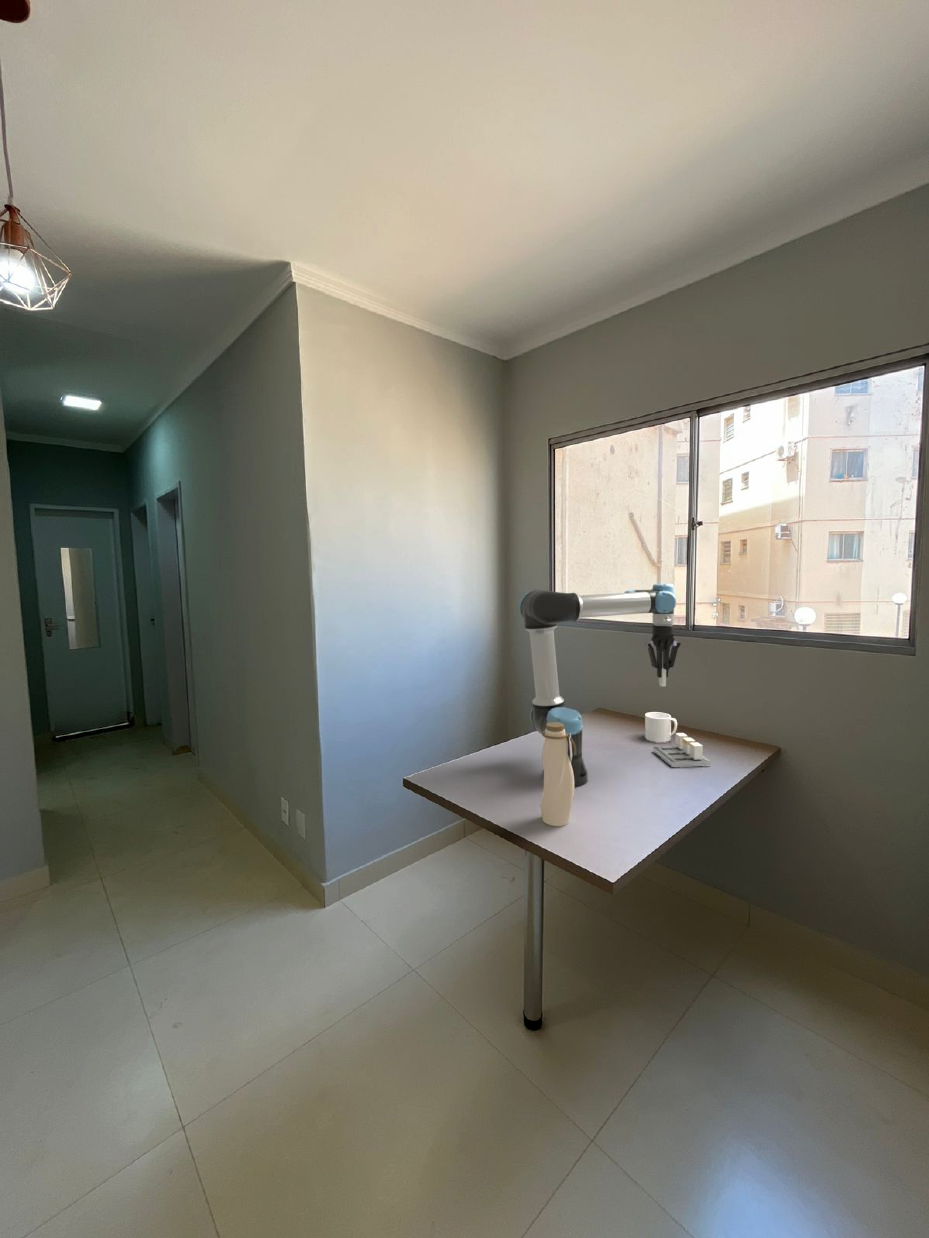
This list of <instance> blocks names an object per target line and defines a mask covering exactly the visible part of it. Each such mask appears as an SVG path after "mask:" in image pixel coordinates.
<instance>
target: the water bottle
mask: <svg viewBox="0 0 929 1238" xmlns="http://www.w3.org/2000/svg"><path fill="white" fill-rule="evenodd" d="M544 733H545V735H544ZM541 736H542V737H544V742H543V746H542V753H541V759H542V767H543V769H544V779H543V792H542V798H541V801H540V806H539V807H540V814H541V819H542V822H544V823H545V824H546V825H549V826H552V827H563V826H566V825H568V824H569V823H570V816H571V811H572V806H573V802H574V796H575V787H574V774H573V769H572V765H571V762H570V759H569V757H568V741H567V738H568V739H569V744H570V758H571V760H572V746H571V742H572V744H573V746H574V755H576V746H575V743H574V742H573V740H572V739H571V732H570V737H569V736H568V734H567V733H566V732H565V729H564V724H563V723H559V722H549V723H547V724H546V729H545V731H544V732H542V734H541ZM566 737H567V738H566Z"/></svg>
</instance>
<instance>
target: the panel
mask: <svg viewBox="0 0 929 1238" xmlns="http://www.w3.org/2000/svg"><path fill="white" fill-rule="evenodd" d="M652 752H653V754H655V753H656V754H657V755H658V756H660V757H661V758H660V757H659V758H660V759H661V760H662V761H663V760H664V761H665V762H664V761H663V762H664V763H665V764H667V763H668V764H669V765H670V766H671V767H670V766H669V765H668V764H667V765H668V766H669V767H670V768H672V767H680V768H692V767H691V766H703V765H704V766H703V767H707V766H706V765H710V766H711V760H710V759H708V758H707V757H706V756H704V755H703V759H698V760H694V759H693V758H691V757H690V756H689V754H686V753H685V752H683V751H682V749H679V748H678V747H676V746H675V745H674V746H673V745H672V746H671V745H670V746H653V747H652ZM656 754H655V755H656ZM657 755H656V756H657Z"/></svg>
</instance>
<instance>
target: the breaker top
mask: <svg viewBox="0 0 929 1238" xmlns="http://www.w3.org/2000/svg"><path fill="white" fill-rule="evenodd" d="M683 738H689V736H688V735H687V734H686V733H684V732H675V743H674V746H676V747H678V748H679V749H682V743H683V742H682V739H683Z"/></svg>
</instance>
